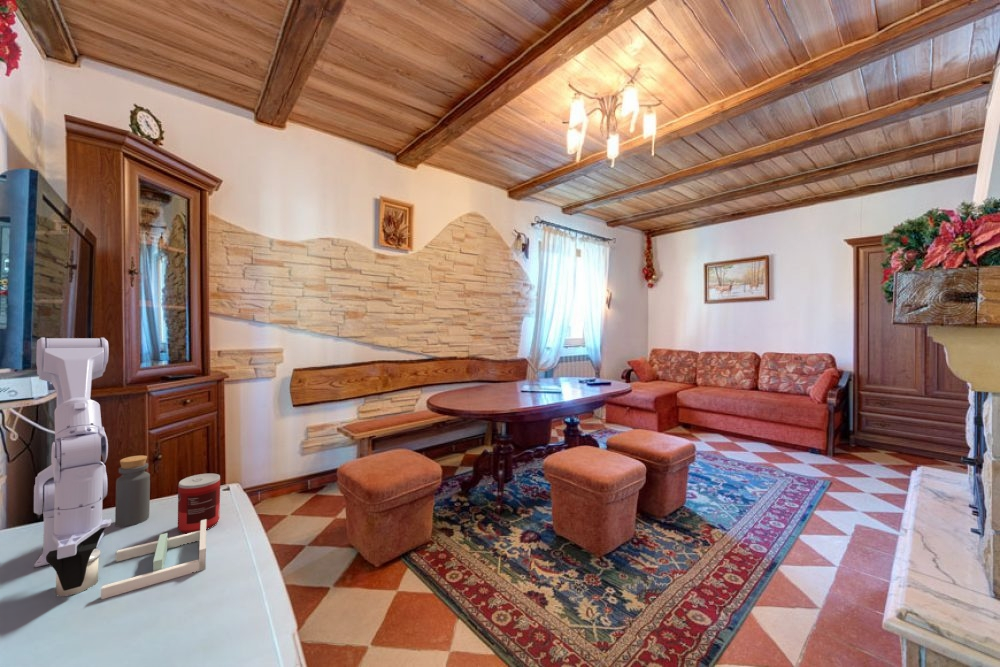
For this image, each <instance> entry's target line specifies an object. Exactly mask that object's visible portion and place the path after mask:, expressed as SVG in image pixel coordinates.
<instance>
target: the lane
mask: <svg viewBox="0 0 1000 667" xmlns="http://www.w3.org/2000/svg"><path fill="white" fill-rule="evenodd" d="M195 541H197V542H199V548H198V549H199V550H198V551H199V552H198V555H199V556H198V559H195V560H192V561H188V562H187V561H186V562H184V563H180V564H176V565H173V566H170V567H166V568H165V567H164V568H163V569H161V570H158V571H154V572H153V571H150V572H148V573H144V574H140V575H136V576H133V577H128V578H125V579H122V580H118V581H115V582H112V583H107V584H105V585H102V586H101V587H100V600H104V599H107V598H110V597H114V596H117V595H122V594H124V593H128V592H133V591H135V590H139V589H141V588H145V587H149V586H152V585H155V584H160V583H163V582H165V581H168V580H173V579H176V578H179V577H183V576H186V575H191V574H193V573H192V572H194V573H196V571H197V572H200V570H201V571H204V570H206V569H207V568H206V567H207V566H206V565H207V564H206V563H207V562H206V561H207V560H206V559H207V530H206V519H205V520H201V525H200V531H196V532H192V533H188V534H185V533H182V534H180V535H176V536H171V537H167V550H168V549H172V548H177V547H180V545H181V546H184V545H183V544H185V545H188V544H187V543H189V544H192V543H191V542H193V543H195ZM157 544H158V540H156V541H151V542H146V543H142V544H138V545H135V546H130V547H126V548H121V549H118V550H116V553H115V554H116V555H115V562H118V563H119V562H121V561H124V560H129V559H133V558H137V557H142V556H144V555H149V554H152V553H156V549H157Z"/></svg>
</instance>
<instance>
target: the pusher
mask: <svg viewBox="0 0 1000 667" xmlns="http://www.w3.org/2000/svg"><path fill="white" fill-rule="evenodd" d="M167 538H169V537H168V532H166V533H161V534H159V537H158V539H157V541H158V544H157V549H156V552H154V557H153V563H152V564H153V566H152V572H154V571H158V570H161V569H165V560H166V556H167V553H168V552H167V551H168V549H167Z"/></svg>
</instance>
